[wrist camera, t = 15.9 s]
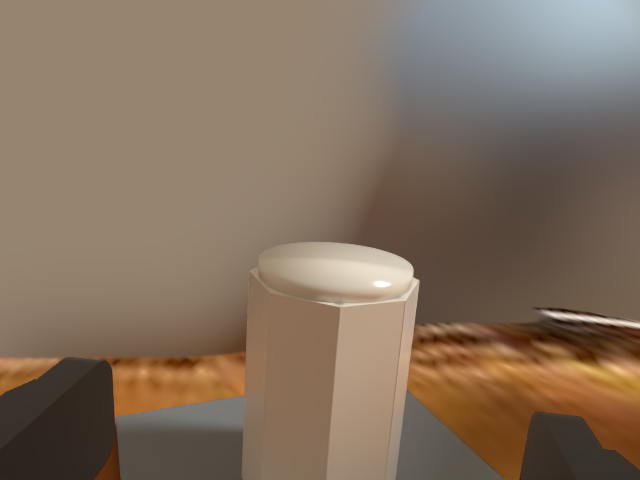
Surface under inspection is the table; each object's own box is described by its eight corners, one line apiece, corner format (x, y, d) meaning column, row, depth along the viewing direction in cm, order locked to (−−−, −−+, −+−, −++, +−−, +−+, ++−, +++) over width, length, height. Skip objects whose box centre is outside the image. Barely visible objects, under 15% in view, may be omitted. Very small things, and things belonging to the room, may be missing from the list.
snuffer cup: (349, 426, 26) (366, 239, 24) (418, 513, 21) (450, 280, 18) (231, 451, 24) (237, 244, 21) (274, 557, 18) (289, 294, 16)
